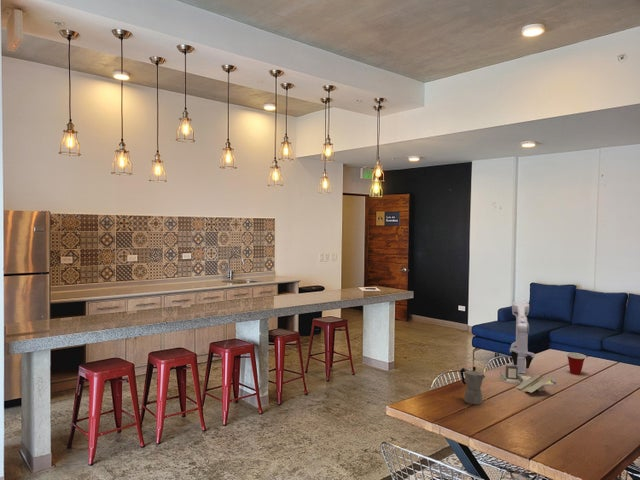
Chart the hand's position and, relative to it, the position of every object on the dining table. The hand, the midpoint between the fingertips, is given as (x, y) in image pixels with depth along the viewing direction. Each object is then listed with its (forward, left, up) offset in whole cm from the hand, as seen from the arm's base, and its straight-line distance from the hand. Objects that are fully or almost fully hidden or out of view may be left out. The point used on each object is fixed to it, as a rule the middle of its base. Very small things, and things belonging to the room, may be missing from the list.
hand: (521, 366), depth 281 cm
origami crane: (+14, +3, -10) cm, 18 cm away
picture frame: (-5, -4, -9) cm, 11 cm away
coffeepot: (+38, -32, -10) cm, 51 cm away
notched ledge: (-5, +5, -10) cm, 12 cm away
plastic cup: (-29, +39, -10) cm, 49 cm away
